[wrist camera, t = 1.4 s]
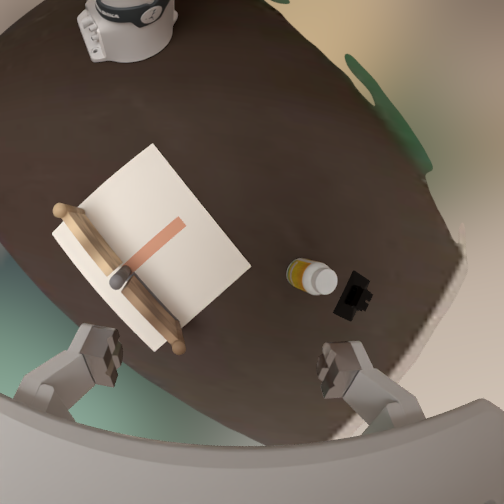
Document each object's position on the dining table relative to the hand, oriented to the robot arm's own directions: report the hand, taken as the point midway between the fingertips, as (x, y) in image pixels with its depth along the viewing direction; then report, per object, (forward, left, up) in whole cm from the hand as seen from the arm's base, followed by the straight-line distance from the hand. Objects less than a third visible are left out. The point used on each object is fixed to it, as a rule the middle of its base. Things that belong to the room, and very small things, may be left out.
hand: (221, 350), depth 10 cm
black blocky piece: (+29, +21, -36) cm, 51 cm away
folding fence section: (-11, -7, -35) cm, 37 cm away
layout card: (-4, -2, -36) cm, 36 cm away
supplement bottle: (+16, +15, -36) cm, 42 cm away
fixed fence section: (+2, -7, -35) cm, 36 cm away
